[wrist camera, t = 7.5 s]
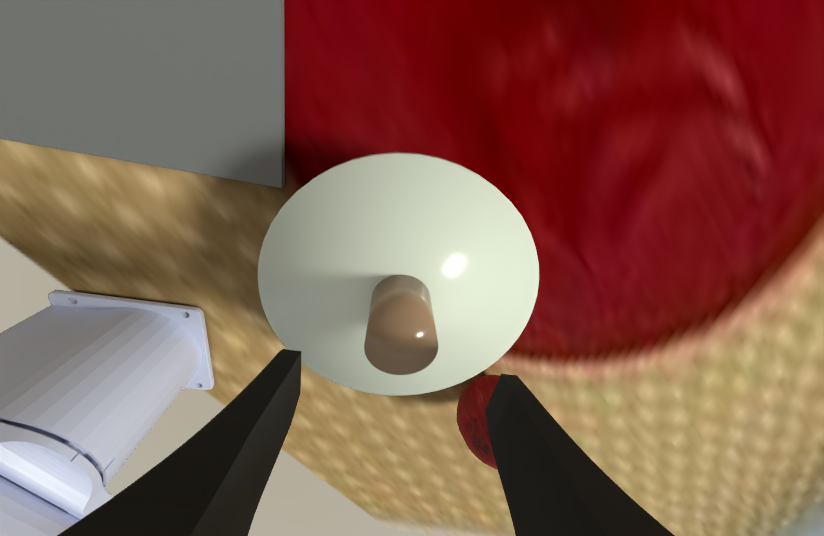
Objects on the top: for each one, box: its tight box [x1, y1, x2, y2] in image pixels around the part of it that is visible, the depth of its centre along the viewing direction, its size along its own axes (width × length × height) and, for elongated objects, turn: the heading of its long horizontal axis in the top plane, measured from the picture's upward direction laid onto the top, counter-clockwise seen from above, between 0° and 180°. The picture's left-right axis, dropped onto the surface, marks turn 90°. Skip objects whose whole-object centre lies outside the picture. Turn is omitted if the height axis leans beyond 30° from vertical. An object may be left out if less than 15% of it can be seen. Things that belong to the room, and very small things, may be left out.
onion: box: [457, 375, 500, 469], centre depth 22 cm, size 6×6×8 cm
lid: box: [258, 152, 539, 395], centre depth 14 cm, size 14×14×4 cm
